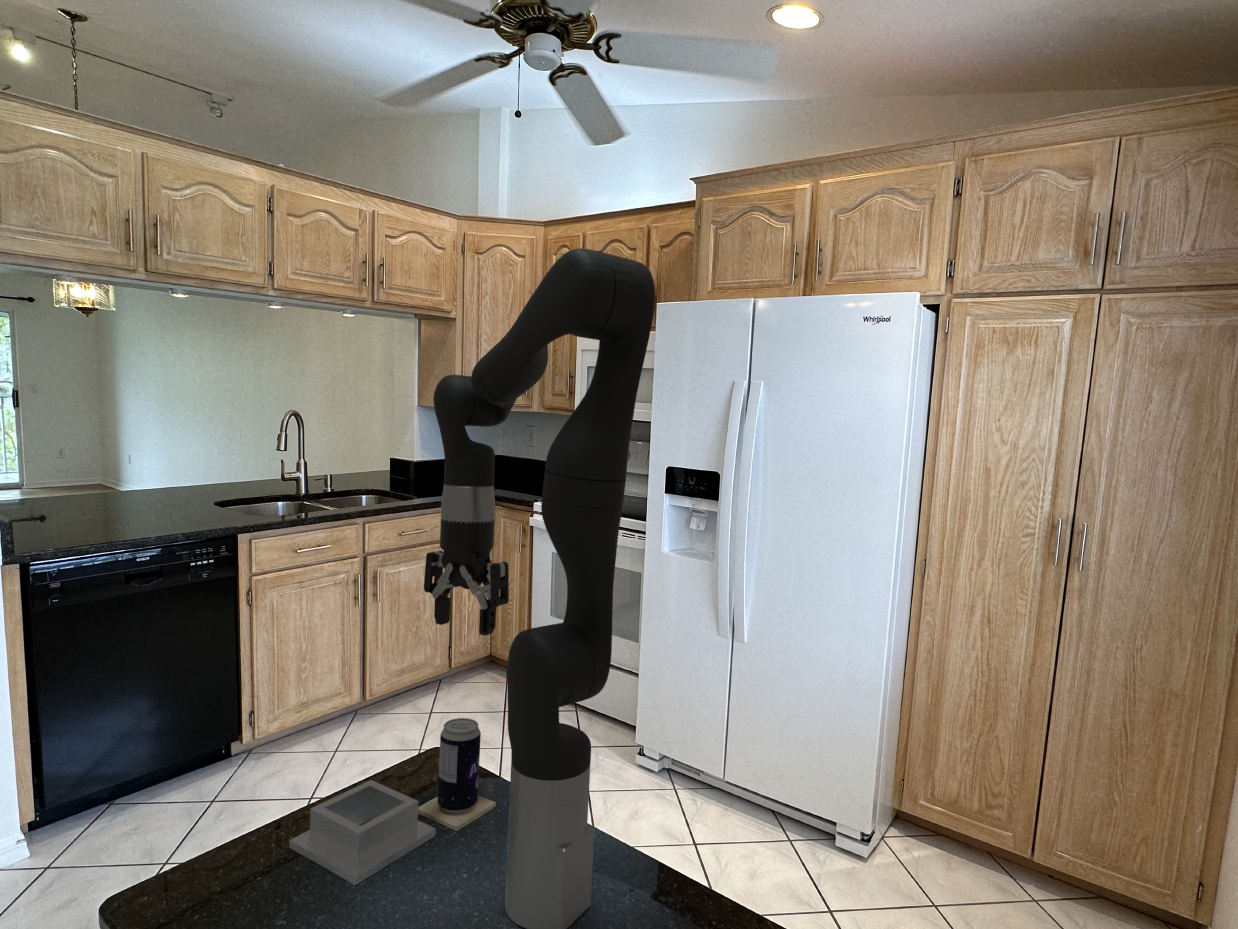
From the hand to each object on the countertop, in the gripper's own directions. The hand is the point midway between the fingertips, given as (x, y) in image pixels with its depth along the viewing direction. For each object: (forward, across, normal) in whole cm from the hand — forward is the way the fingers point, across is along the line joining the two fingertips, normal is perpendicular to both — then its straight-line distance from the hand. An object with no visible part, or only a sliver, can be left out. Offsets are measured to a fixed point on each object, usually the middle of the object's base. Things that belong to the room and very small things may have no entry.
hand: (463, 628), depth 102 cm
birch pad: (+27, 0, 0) cm, 27 cm away
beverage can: (+26, 0, 0) cm, 26 cm away
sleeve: (+27, +4, +13) cm, 30 cm away
